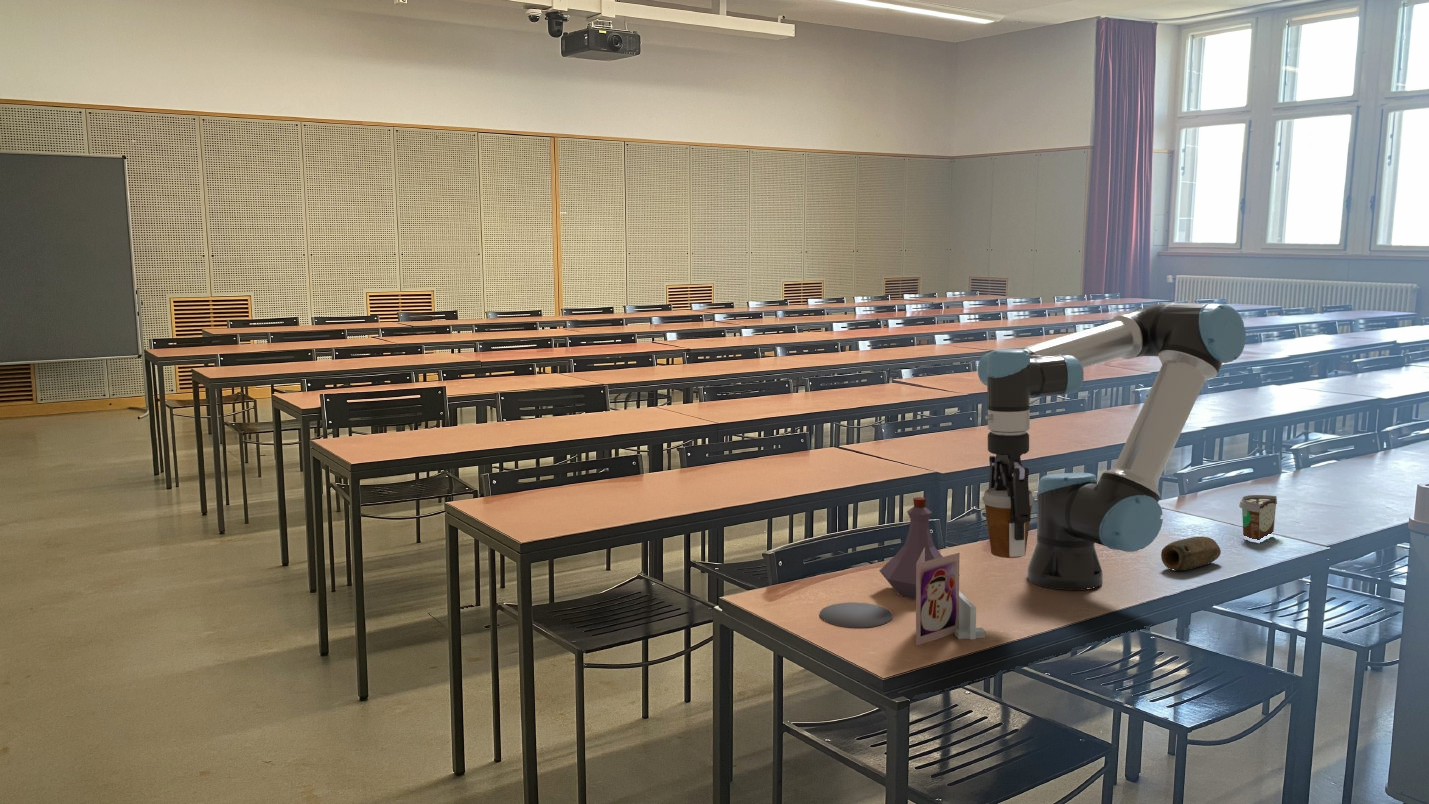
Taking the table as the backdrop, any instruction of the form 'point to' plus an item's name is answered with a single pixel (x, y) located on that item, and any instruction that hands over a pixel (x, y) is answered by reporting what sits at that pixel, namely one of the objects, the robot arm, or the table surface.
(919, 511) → the flask
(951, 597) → the greeting card
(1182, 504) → the table surface
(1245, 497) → the food container
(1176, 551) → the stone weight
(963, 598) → the divider
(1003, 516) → the disposable coffee cup
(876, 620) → the mat
